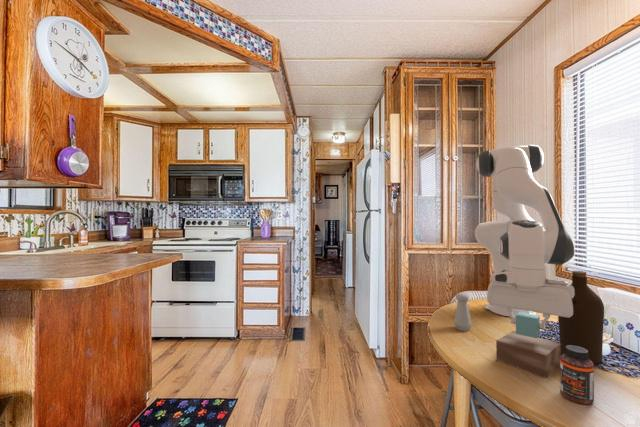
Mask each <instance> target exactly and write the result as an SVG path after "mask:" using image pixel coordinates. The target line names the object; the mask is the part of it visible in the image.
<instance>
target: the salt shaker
mask: <svg viewBox="0 0 640 427" xmlns="http://www.w3.org/2000/svg"><path fill="white" fill-rule="evenodd" d="M455 299H456V301H457V304H456V309H455V315H454V319H453V323H454V325H455V328H456V330H458V331H460V332H468V331H470V329H471V326H472V320H471V315H470V309H469V305H468V302H469V299H470V297H469V295H468V294H467V293H463V292H459V293H456V294H455Z"/></svg>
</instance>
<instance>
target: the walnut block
mask: <svg viewBox="0 0 640 427" xmlns="http://www.w3.org/2000/svg"><path fill="white" fill-rule="evenodd" d="M495 343H496V344H495V345H496V346H495V348H496V354H495V355H496V361H497V362H500V363H503V364H505V365H508V366H512V367H514V368H517V369H520V370H523V371H525V372H529V373H531V374H534V375H536V376H540V377H543V378H545V379H547V378H548V376H550V375H551V374H552V373H553V372H554V371H555V370H556V369H558V367H560V357H561V355H562V354H561V343H560V342H557V341H553V340H551V339H545V338H542V337H539V336H538V338H533V337H528V336H524V335H519V334H516V330H512V331H511V332H509V333H507V334H505V335H504V336H502V337H500V338H499V339H496V342H495Z"/></svg>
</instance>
